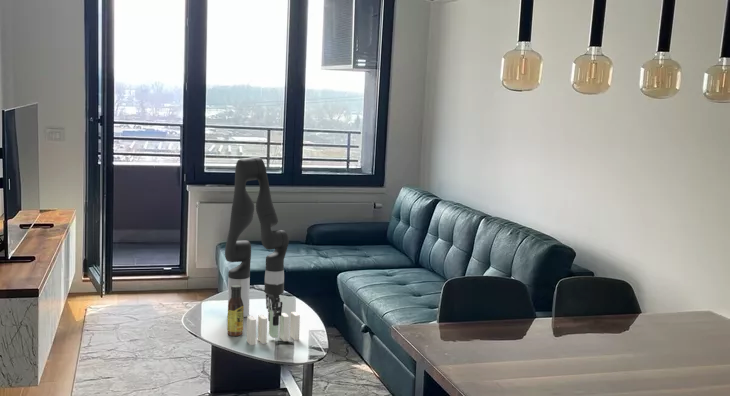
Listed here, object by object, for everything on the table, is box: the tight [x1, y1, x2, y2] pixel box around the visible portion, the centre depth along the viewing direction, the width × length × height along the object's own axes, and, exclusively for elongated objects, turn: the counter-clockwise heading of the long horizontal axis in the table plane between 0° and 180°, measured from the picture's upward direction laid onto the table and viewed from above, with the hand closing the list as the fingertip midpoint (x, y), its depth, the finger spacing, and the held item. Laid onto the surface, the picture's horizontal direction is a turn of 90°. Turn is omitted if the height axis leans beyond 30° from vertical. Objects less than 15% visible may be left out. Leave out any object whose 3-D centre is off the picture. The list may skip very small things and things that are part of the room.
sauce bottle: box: [226, 285, 244, 337], centre depth 277 cm, size 7×6×20 cm
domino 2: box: [257, 314, 268, 345], centre depth 271 cm, size 5×2×10 cm, turn 26°
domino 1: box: [246, 315, 257, 346], centre depth 269 cm, size 5×2×10 cm, turn 26°
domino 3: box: [268, 310, 279, 339], centre depth 272 cm, size 5×2×10 cm, turn 26°
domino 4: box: [279, 312, 290, 342], centre depth 275 cm, size 5×2×10 cm, turn 25°
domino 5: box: [289, 311, 301, 341], centre depth 277 cm, size 5×2×10 cm, turn 26°
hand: (273, 323), depth 272 cm, fingers closed on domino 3, 5 cm apart
